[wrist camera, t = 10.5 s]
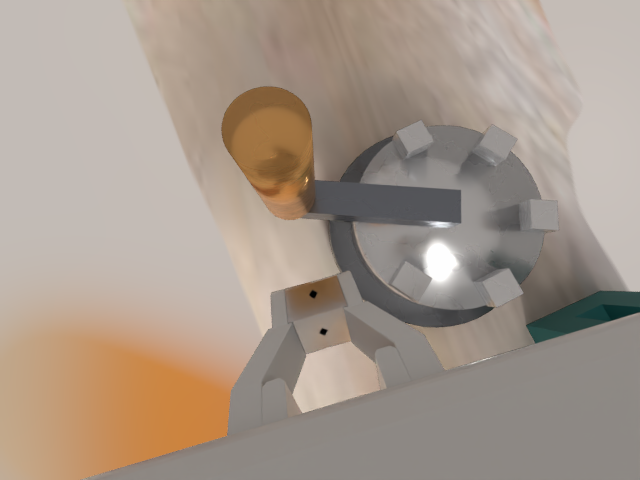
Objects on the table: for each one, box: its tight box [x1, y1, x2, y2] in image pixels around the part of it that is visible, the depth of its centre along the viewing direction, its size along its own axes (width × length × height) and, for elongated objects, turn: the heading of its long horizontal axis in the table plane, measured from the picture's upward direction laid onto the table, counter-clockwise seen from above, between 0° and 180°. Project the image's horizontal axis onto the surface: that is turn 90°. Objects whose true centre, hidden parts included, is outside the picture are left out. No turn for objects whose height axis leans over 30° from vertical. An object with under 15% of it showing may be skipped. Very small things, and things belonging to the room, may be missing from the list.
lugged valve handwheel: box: [222, 87, 559, 310], centre depth 15 cm, size 18×12×12 cm
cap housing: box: [329, 136, 495, 327], centre depth 22 cm, size 15×15×2 cm
